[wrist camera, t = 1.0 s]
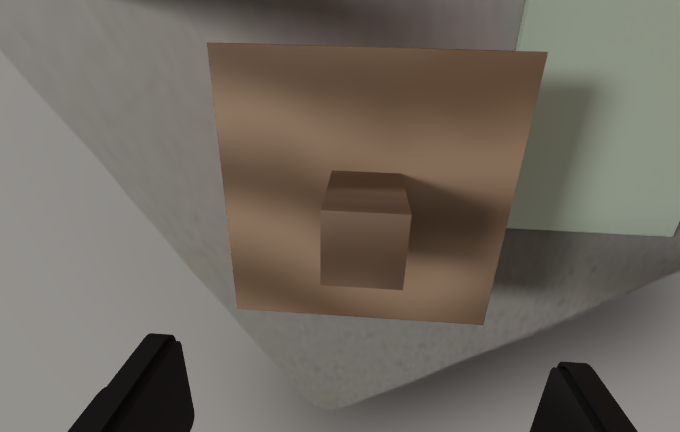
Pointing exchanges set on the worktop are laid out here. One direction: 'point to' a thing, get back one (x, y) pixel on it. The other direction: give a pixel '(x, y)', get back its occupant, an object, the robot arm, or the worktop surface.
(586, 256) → the worktop surface
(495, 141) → the lid
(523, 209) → the mat
